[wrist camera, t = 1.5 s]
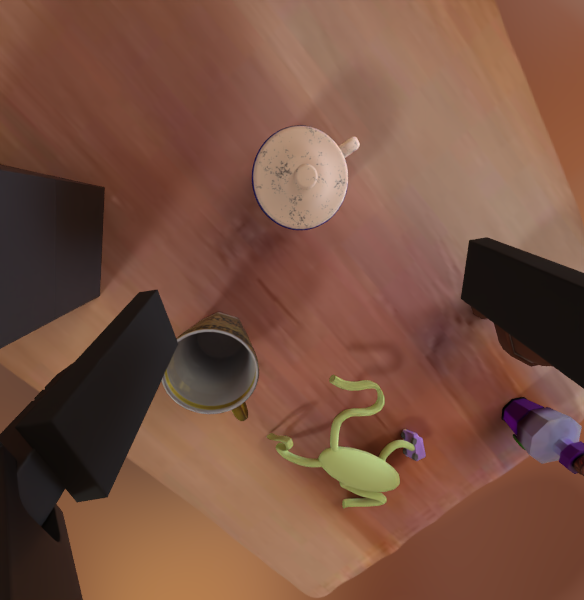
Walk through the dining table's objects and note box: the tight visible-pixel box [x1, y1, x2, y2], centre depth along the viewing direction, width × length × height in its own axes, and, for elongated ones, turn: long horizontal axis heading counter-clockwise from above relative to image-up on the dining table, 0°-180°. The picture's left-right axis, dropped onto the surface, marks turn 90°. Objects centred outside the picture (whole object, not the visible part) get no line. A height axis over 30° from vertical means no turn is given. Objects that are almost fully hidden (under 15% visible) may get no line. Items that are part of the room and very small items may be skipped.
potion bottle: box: [502, 397, 584, 476], centre depth 44 cm, size 9×9×12 cm
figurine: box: [267, 375, 426, 508], centre depth 44 cm, size 18×27×6 cm
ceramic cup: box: [161, 312, 259, 421], centre depth 35 cm, size 13×10×10 cm
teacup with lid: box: [252, 125, 360, 230], centre depth 30 cm, size 12×9×12 cm
